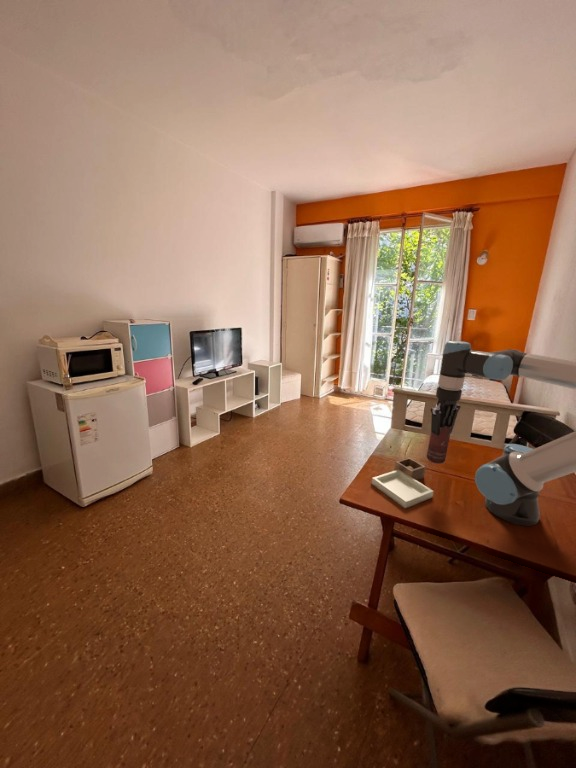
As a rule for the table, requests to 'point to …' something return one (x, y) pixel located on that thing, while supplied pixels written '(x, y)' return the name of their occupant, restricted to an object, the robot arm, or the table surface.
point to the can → (439, 445)
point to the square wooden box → (415, 473)
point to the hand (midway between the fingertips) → (438, 450)
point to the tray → (402, 488)
